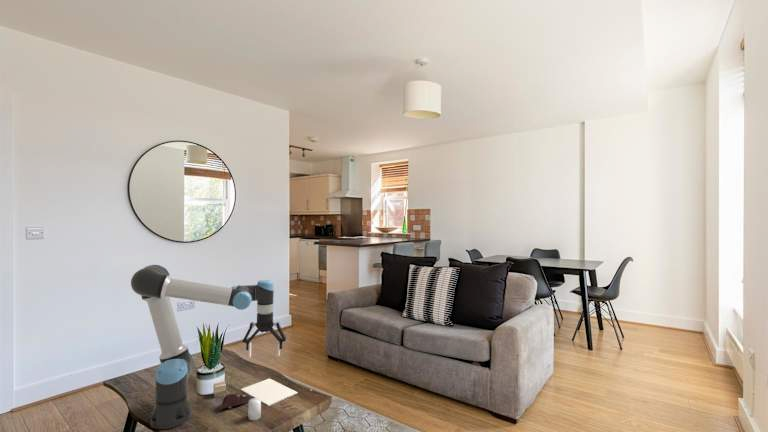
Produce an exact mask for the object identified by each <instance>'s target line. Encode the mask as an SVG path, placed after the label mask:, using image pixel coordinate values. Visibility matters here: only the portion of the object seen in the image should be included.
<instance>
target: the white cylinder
mask: <svg viewBox="0 0 768 432" xmlns="http://www.w3.org/2000/svg"><path fill="white" fill-rule="evenodd" d="M247 410H248V414H247V415H248V418H247V419H248V420H249V421H257V420H259V419H261V417H262V402H261V399H260V398H253V397H252V398H251V399H250V400H249V401H248V409H247Z"/></svg>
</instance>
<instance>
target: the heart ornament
mask: <svg viewBox="0 0 768 432" xmlns="http://www.w3.org/2000/svg"><path fill="white" fill-rule="evenodd" d="M250 399H252V396H250V395H248V394H246V393H242V394H238V392H235V393H226V395H225V396H223V398H222V401H221V403H220V404H221V405H220V410H223V409H227V408H228V409H231V408H233V407H236V406H239V405H244V404H246V403H249V400H250Z"/></svg>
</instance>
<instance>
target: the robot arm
mask: <svg viewBox="0 0 768 432" xmlns="http://www.w3.org/2000/svg"><path fill="white" fill-rule="evenodd" d="M130 286H131V289H132V291H133V292H134V293H135V294H137V295H139V296H141V299H142V301H144V302H147V305H148V309H149V313H150V316H151V319H152V320H151V321H152V323H153V326H154V330H155V334H156V338H157V341H158V344H159V347H160V351H161V354H160V356H159V357H158V358H159V363H160V364H158V365H157V367H156V368H155V374H154V379H155V384H154V385H155V389H154V390H155V405H154V408H153V411H152V413H151V415H150V420H149V422H150V427H151V428H152V429H155V430H167V429H173V428H176V427H179V426H181V425H183V424H185V423H187V422H188V421H189V420H190V419H191V418H192V415H193V414H192V413H193V411H192V406H191V405H190V402H189V399H188V380H189V378H190V376H191V373H192V371H193V369H194V366H195V365H194V363H195V362H194V361H195V360H194V356H193V354H191V353H190V351H189V348H188V345H184V344H183V340H182V337H181V333H180V330H179V326H178V322H177V319H176V316H175V313H174V312H175V311H174V308H173V305H172V301H171V298H175V299H180V300H188V301H194V302H202V303H208V304H215V305H222V306H229V307H233V308H236V310H239V311H240V310H241V311H242V310H246V309H248V308H249V306H250V305H251V304H252V302H255V301H256V302H257V303H256V312H257V313H256V322H253V321H251V322H250V323H249V326H248V327H249V328H248V329H247V332H246V333H245V335H244V337H243V339H242V341H241V342H242V343H244V344H245V345H246V346H245V347H246V351H248V353H247V354H248V358H249V359H250V358H251V356H252V340H253V339H254V338H255V337H256V335H257V334H259V332H260V333H268V332H269V333H270V334H272V335H273V337H274V338H275V339H276V340H277V357H278V358H279V357H280V355H281V350H282V349H283V342H286V340H287V337H286V335H285V334H284V331H283V329H282V327H281V322H280V321H277V322H276V321H275V322H274V312H273V311H274V294H275V291H274V281H273V280H271V279H262V280H258V281H257V284H251V285H239V284H238V285H232V286H231V287H225V286H218V285H213V284H208V283H201V282H195V281H188V280H182V279H178V278H177V279H176V278H171V275H170V271H169V270H168V269H167V268H166V267H165V266H163V265H160V264H151V265H146V266H144V267H143V268H141V269H139V270H137V271H136V272H135V273H133V275H132V277H131V280H130ZM255 327H256V328H257V329H256V330H255V331H254V332H253V333H252V335H250V333H251V331H252V330H253V328H255ZM273 327H275V328H277V329H276V330H277V331H278V333H277V331H276V330H275V329H274V328H273ZM249 336H250V337H249ZM248 337H249V338H248Z"/></svg>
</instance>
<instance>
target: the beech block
mask: <svg viewBox="0 0 768 432" xmlns="http://www.w3.org/2000/svg"><path fill="white" fill-rule="evenodd" d="M225 395H227V385H226V381H225V380H223V381H218V382H213V398H214V399H215V398H220V397H224V396H225Z"/></svg>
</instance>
